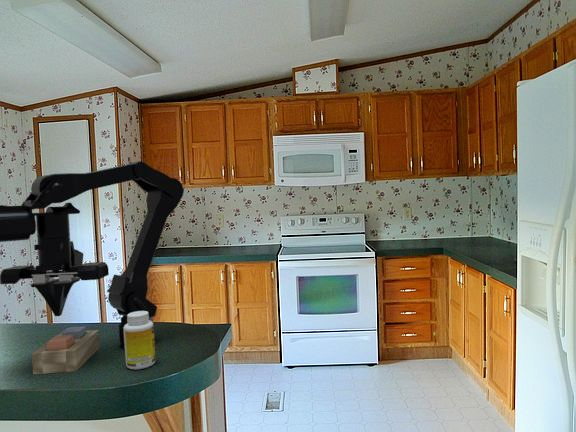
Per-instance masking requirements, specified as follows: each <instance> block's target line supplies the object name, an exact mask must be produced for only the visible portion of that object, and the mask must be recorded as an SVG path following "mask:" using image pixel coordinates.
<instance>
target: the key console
mask: <svg viewBox="0 0 576 432" xmlns="http://www.w3.org/2000/svg"><path fill="white" fill-rule="evenodd" d="M56 336H61V332H59V334H57V335H56ZM100 344H101V343H100V331H99V329H94V330H93V329H92V330H91V329H90V330H86V335H84V336H83V337H82V338H81V339H74V345H72V346H71V347H70V348H69V349H65V350H52V351H47V342H46V343H44V345H42V346H41V347H39V348H38V349H37V350H35V351H34V352H31V361H32V373H33V374H32V375H44V374H54V373H69V372H77V371H78V370H79V369H80V368H81V367H82V366H83V365H84V364H85V363H86V362H87V361H88V360H89V359H90V358H91V357H92V356H93V355H94V354H95V353H96V352H97V351H98V350H100V348H101V347H100V346H101V345H100Z"/></svg>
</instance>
